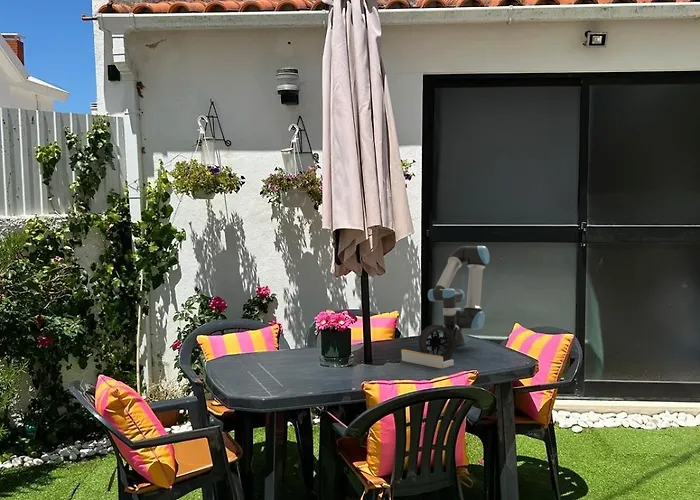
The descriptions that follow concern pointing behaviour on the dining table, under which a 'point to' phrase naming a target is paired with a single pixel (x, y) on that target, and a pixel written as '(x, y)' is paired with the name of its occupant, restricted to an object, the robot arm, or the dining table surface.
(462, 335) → the robot arm
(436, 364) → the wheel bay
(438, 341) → the wheel rim
